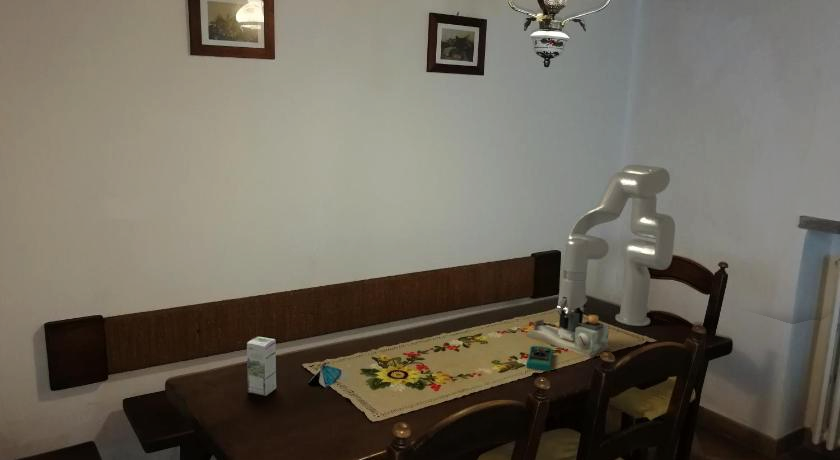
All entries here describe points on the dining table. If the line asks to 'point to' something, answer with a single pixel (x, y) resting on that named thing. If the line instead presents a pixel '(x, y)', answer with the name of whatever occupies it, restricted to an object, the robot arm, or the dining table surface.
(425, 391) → the dining table surface
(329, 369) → the decorative butterfly
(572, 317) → the carriage
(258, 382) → the syrup box
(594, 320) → the button
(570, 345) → the rail bed
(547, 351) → the digital multimeter
